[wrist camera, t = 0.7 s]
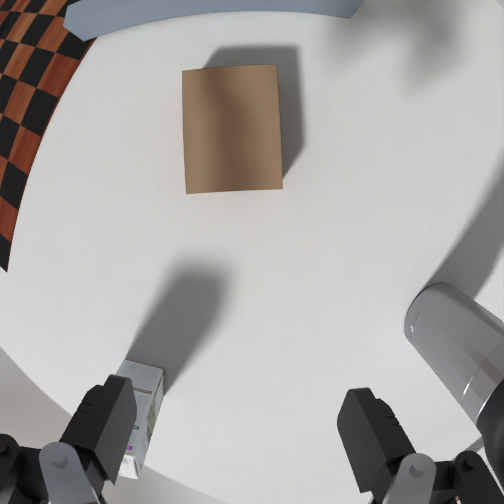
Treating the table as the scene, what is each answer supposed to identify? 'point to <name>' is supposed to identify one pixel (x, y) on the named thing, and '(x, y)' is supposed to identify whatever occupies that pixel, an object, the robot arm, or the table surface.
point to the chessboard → (29, 92)
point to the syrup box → (141, 413)
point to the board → (181, 11)
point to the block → (231, 129)
